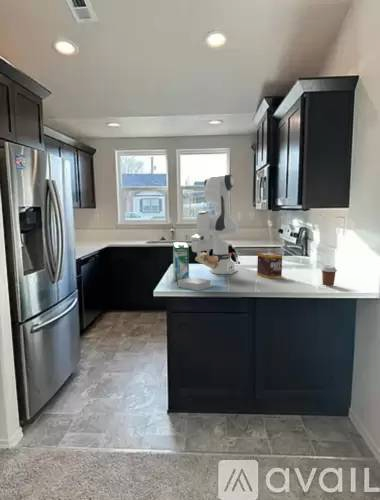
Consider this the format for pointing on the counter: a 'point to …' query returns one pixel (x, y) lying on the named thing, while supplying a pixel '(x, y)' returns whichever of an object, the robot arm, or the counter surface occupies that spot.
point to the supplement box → (269, 265)
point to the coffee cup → (328, 275)
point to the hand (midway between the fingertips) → (203, 257)
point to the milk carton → (180, 261)
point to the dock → (194, 283)
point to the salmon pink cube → (212, 259)
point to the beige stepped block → (205, 261)
